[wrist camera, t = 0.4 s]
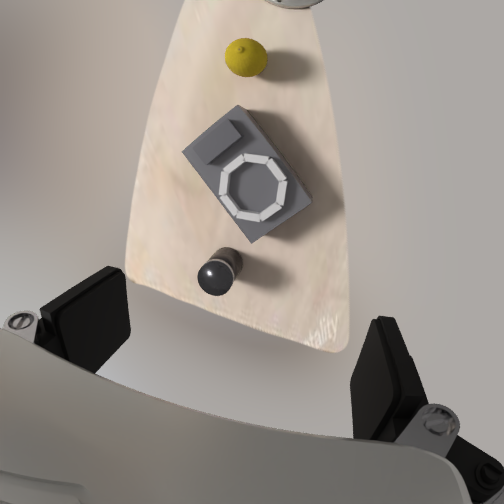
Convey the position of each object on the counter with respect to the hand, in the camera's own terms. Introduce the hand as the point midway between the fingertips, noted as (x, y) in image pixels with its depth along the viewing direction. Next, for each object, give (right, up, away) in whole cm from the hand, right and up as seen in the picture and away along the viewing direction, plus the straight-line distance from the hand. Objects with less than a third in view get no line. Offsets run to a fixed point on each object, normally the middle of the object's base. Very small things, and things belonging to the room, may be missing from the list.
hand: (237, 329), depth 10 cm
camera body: (+1, +14, +32) cm, 35 cm away
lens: (-3, +1, +38) cm, 38 cm away
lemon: (+1, +30, +27) cm, 40 cm away
